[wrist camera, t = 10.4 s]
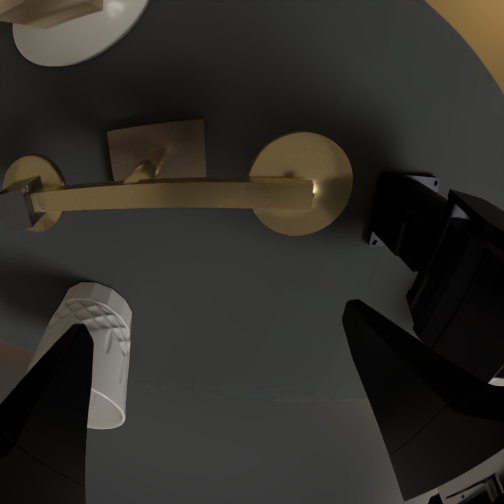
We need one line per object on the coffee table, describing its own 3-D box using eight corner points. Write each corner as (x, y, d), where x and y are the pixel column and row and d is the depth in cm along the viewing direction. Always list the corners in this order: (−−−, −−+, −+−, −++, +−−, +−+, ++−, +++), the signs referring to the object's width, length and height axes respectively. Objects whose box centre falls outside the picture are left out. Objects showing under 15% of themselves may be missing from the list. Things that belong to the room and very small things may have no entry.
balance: (298, 113, 17) (373, 142, 9) (295, 176, 19) (356, 245, 12) (37, 144, 15) (-48, 195, 7) (49, 200, 17) (-18, 275, 9)
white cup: (55, 267, 20) (8, 360, 12) (141, 284, 22) (121, 391, 14) (65, 329, 24) (39, 414, 16) (137, 344, 26) (127, 436, 18)
